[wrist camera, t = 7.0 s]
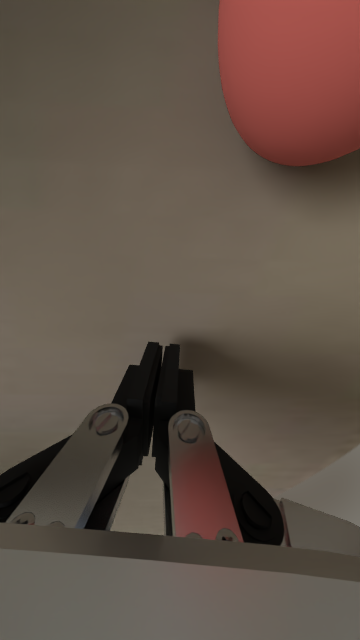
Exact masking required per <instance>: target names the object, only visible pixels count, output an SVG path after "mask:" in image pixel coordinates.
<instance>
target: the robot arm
mask: <svg viewBox="0 0 360 640" xmlns="http://www.w3.org/2000/svg"><path fill="white" fill-rule="evenodd" d="M162 348H163V346H160V345H159V343H157V342H148V344H147V347H146V349H145V352H144V355H143V357H142V360H141V363H140V365H129V367H128V369H127V371H126V373H125V375H124V377H123V380H122V382H121V384H120V386H119V388H118V390H117V392H116V394H115V397H114V399H113V401H112V403H110V404H104V405H102V406H99V407H97V408H96V409H94V410H92V411H91V412H90V413H89V414H88V415H87V417H86V418H85V419H84V421H83V422H82V423H81V425H80V426H79V427H78V428H77V430H76V431H75V432H74V434H73V435H71V436H69V437H67V438H65V439H63V440H62V441H60V442H58V443H56V444H54V445H52V446H51V447H49V448H47V449H45V450H43V451H41V452H40V453H38V454H36V455H34V456H32V457H31V458H29V459H27V460H25V461H23V462H21V463H20V464H18V465H16V466H14V467H12V468H10V469H9V470H7V471H6V472H4V473H3V474H1V475H0V640H360V527H358V526H357V525H355V524H353V523H351V522H349V521H346V520H343V519H340V518H338V517H335V516H332V515H329V514H326V513H324V512H321V511H317V510H315V509H312V508H310V507H306V506H304V505H301V504H298V503H296V502H293V501H290V500H287V499H284V498H281V500H280V501H279V500H276V499H274V498H272V496H271V495H270V494H269V493H268V492H267V491H266V490H265V489H264V488H263V487H262V486H261V485H260V484H259V483H258V482H257V481H256V480H255V479H254V478H252V477H251V476H250V475H249V474H248V473H247V472H246V471H245V470H244V469H243V468H242V467H241V466H240V465H239V464H237V463H236V462H235V461H234V460H233V459H232V458H231V457H230V456H229V455H228V454H227V453H226V452H225V451H224V450H223V449H221V448H220V447H219V446H218V445H217V444H216V443H215V442H214V440H213V437H212V434H211V430H210V427H209V425H208V422H207V421H206V419H205V418H204V417H203V416H202V415H200V414H199V413H197V412H195V399H194V383H193V371H192V370H183V369H179V352H180V345H179V344H170V346H165V352H164V357H163V362H162ZM161 364H162V367H161ZM153 425H154V426H153ZM152 431H153V445H152V457H156V462H155V470H156V472H157V473H158V475H159V476H160V477H161V479H162V480H163V506H164V536H163V535H151V534H139V533H127V532H115V531H110V529H111V526H112V523H113V521H114V518H115V515H116V513H117V510H118V507H119V505H120V502H121V499H122V497H123V494H124V491H125V489H126V486H127V483H128V479H129V475H130V474H132V473H133V472H134V471H135V470H136V469H138V466H139V465H142V459H143V456H148V454H149V448H150V442H151V437H152Z"/></svg>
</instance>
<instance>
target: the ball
mask: <svg viewBox="0 0 360 640" xmlns="http://www.w3.org/2000/svg"><path fill="white" fill-rule="evenodd" d="M218 56H219V68H220V77H221V84H222V90H223V94H224V98H225V102H226V105H227V109H228V112H229V114H230V117H231V119H232V122H233V124H234V126H235V128H236V129H237V131H238V133H239V134H240V136H241V138H242V139H243V140H244V141H245V143H246V144H247V145H248V146H249V147H250V148H251V149H252V150H253V151H254V152H256V153H257V154H258V155H260V156H261V157H263V158H265V159H267V160H269V161H272V162H274V163H278V164H281V165H287V166H307V165H314V164H319V163H323V162H327V161H330V160H334V159H336V158H339V157H341V156H344V155H346V154H348V153H351V152H353V151H355V150H357V149H359V148H360V0H220V3H219V21H218Z"/></svg>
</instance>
